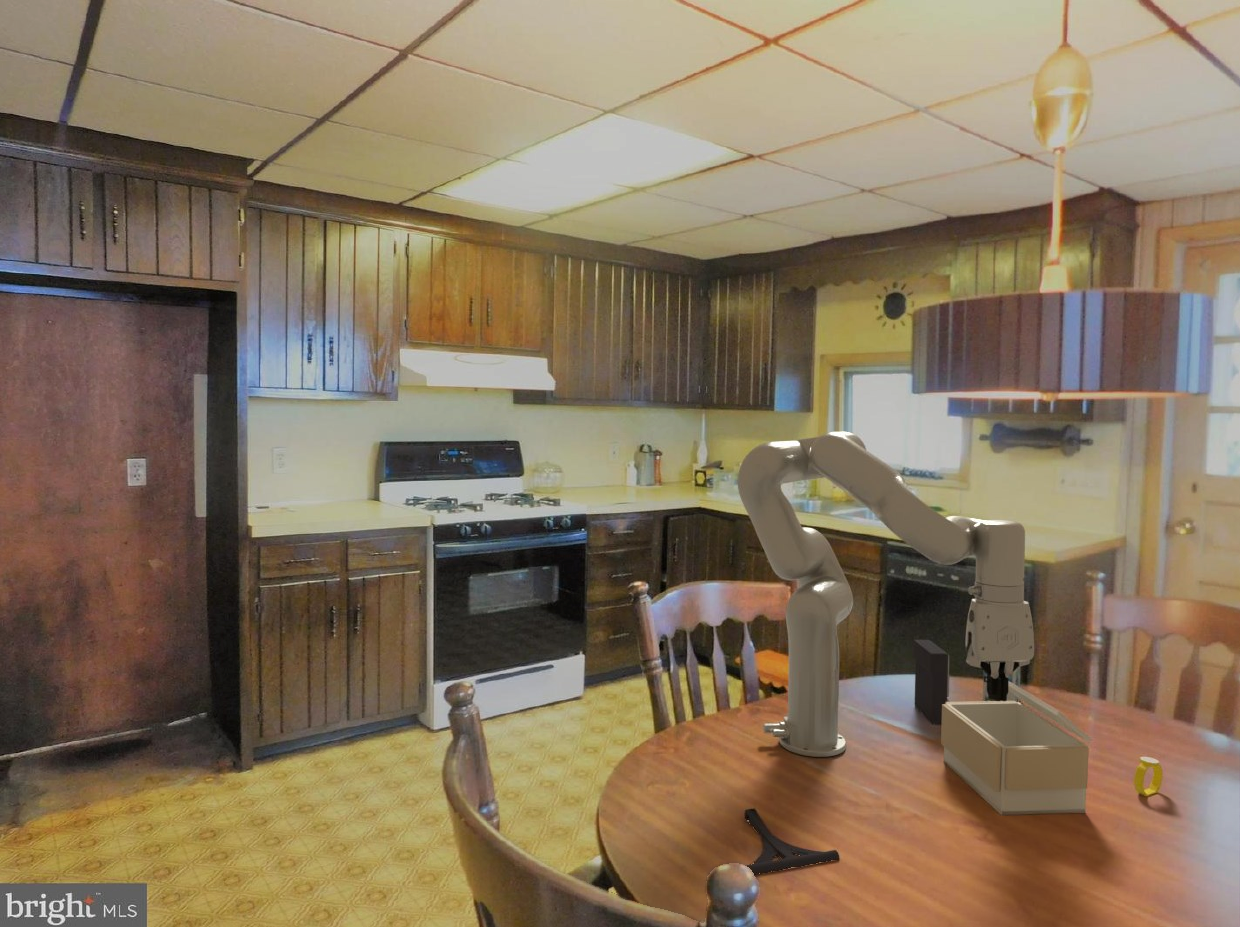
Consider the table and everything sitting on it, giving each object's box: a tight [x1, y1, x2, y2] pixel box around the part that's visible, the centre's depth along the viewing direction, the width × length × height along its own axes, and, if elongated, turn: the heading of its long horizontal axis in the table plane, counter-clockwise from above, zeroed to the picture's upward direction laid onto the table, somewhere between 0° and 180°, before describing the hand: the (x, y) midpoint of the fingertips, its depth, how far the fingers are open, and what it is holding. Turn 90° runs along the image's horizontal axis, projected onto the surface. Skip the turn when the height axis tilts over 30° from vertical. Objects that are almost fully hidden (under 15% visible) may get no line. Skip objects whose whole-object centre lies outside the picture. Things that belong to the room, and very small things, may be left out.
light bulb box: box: [982, 662, 1022, 703], centre depth 179 cm, size 11×7×11 cm, turn 149°
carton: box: [940, 700, 1090, 816], centre depth 139 cm, size 15×22×11 cm
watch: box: [1133, 756, 1163, 797], centre depth 137 cm, size 6×3×6 cm, turn 118°
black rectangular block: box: [912, 639, 951, 725], centre depth 172 cm, size 11×4×15 cm, turn 179°
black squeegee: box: [743, 807, 841, 876], centre depth 121 cm, size 14×15×3 cm
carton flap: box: [1008, 681, 1093, 744], centre depth 139 cm, size 7×19×1 cm
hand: (997, 698), depth 138 cm, fingers closed
